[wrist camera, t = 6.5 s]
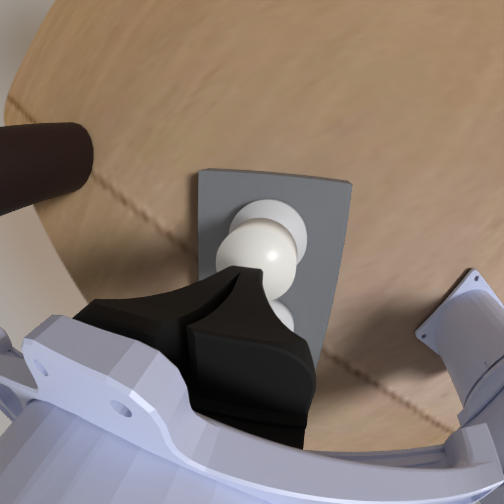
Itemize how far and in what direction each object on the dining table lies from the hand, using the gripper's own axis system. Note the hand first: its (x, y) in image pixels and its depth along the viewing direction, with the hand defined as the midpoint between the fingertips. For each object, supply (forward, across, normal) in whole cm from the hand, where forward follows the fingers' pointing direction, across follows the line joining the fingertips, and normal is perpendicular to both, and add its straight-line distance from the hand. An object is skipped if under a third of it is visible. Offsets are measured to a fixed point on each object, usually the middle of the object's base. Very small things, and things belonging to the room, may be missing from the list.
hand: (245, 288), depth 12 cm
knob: (+4, 0, 0) cm, 4 cm away
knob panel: (+9, 0, +7) cm, 12 cm away
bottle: (+10, +19, -6) cm, 22 cm away
